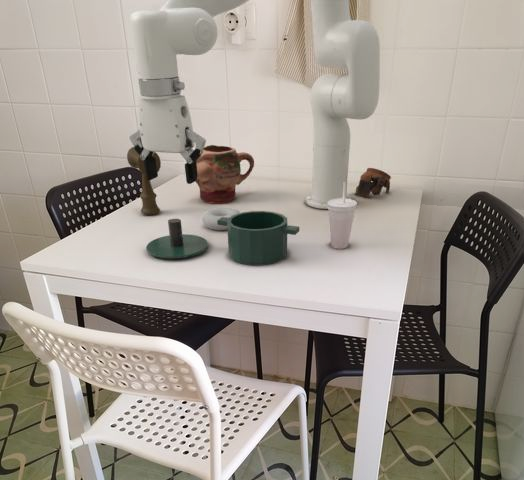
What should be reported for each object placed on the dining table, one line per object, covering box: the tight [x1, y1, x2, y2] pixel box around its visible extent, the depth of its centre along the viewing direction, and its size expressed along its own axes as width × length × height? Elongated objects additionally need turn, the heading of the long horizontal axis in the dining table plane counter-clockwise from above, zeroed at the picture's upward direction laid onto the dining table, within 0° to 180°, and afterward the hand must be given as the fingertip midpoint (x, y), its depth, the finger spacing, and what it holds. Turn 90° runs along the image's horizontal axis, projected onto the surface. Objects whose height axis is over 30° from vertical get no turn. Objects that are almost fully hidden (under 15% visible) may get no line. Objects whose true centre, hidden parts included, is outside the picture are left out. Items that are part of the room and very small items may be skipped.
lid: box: [145, 218, 209, 260], centre depth 111 cm, size 14×14×7 cm
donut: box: [201, 207, 241, 231], centre depth 125 cm, size 10×4×10 cm
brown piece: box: [354, 167, 392, 199], centre depth 144 cm, size 12×10×8 cm
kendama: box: [126, 138, 162, 216], centre depth 130 cm, size 6×10×20 cm, turn 32°
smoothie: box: [327, 182, 358, 250], centre depth 109 cm, size 6×6×14 cm
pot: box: [217, 210, 300, 266], centre depth 108 cm, size 13×18×8 cm
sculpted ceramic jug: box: [195, 144, 255, 204], centre depth 142 cm, size 20×12×14 cm, turn 119°
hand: (172, 180), depth 105 cm, fingers open, 9 cm apart
